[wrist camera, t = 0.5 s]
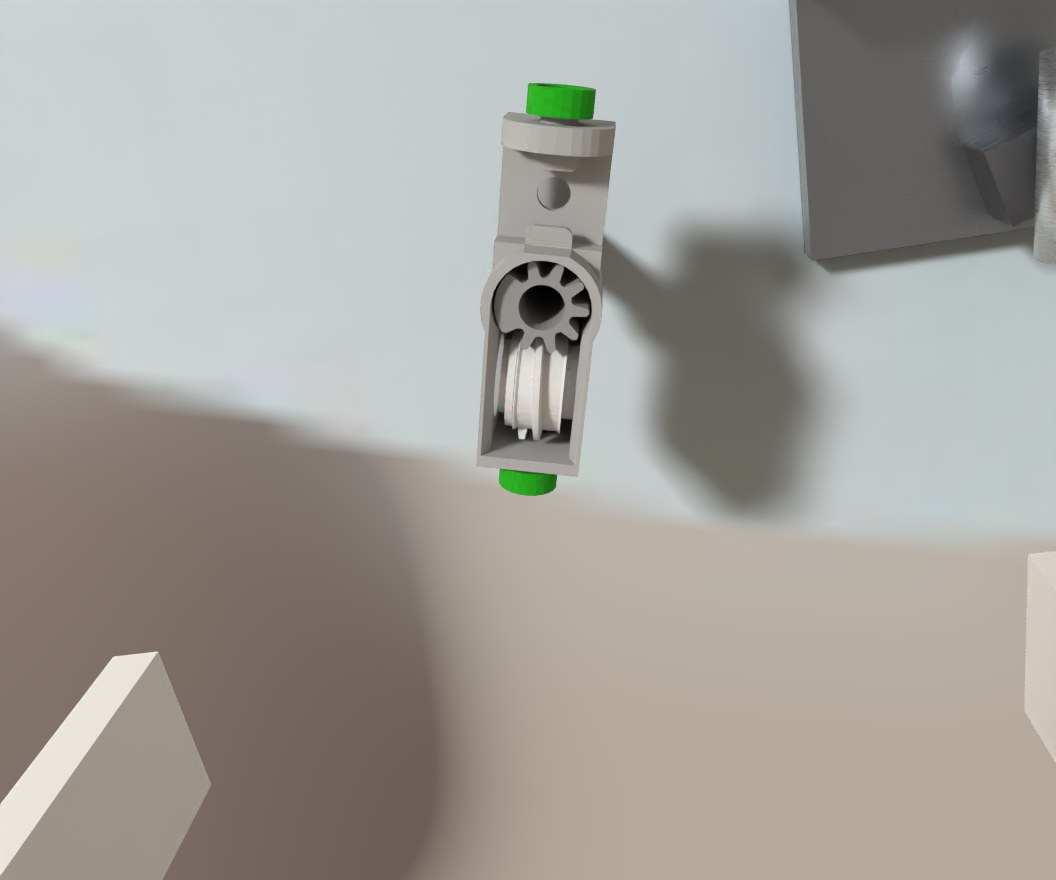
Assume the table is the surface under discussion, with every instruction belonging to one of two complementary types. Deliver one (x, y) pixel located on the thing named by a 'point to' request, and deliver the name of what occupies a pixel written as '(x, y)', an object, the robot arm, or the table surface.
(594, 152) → the mechanical component
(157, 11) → the table surface
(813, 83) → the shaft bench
